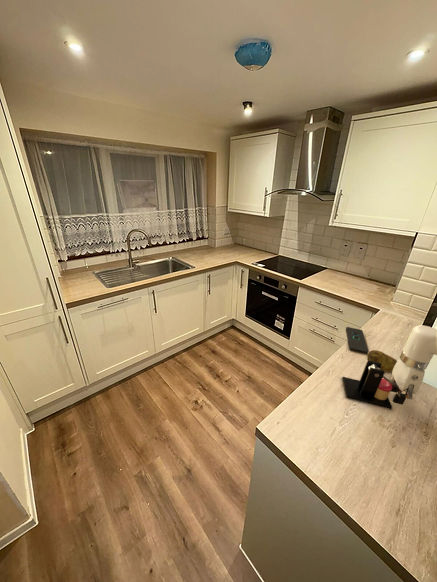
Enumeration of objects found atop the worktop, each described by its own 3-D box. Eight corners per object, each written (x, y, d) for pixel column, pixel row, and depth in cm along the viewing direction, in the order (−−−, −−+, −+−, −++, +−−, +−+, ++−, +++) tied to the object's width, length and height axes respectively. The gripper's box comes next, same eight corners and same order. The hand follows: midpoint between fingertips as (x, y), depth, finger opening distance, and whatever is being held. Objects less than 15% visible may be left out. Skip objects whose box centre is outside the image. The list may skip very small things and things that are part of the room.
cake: (384, 390, 91) (389, 379, 89) (389, 402, 86) (394, 391, 84) (368, 386, 93) (372, 376, 90) (371, 397, 88) (376, 387, 85)
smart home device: (362, 329, 128) (369, 351, 111) (361, 332, 129) (368, 354, 112) (346, 326, 131) (349, 347, 114) (345, 328, 131) (348, 350, 114)
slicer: (382, 388, 94) (395, 361, 88) (391, 409, 85) (405, 381, 79) (341, 378, 98) (351, 352, 92) (345, 397, 89) (356, 370, 83)
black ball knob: (396, 389, 88) (404, 384, 86) (399, 395, 85) (408, 391, 84) (366, 366, 88) (374, 362, 87) (368, 372, 85) (376, 368, 84)
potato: (399, 379, 98) (406, 364, 95) (364, 369, 103) (370, 355, 100) (395, 366, 105) (401, 352, 102) (363, 357, 110) (368, 343, 106)
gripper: (439, 380, 72) (416, 419, 80) (416, 347, 86) (398, 383, 94) (411, 374, 74) (390, 413, 82) (392, 342, 88) (377, 378, 96)
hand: (394, 396), depth 88 cm, fingers open, 4 cm apart
